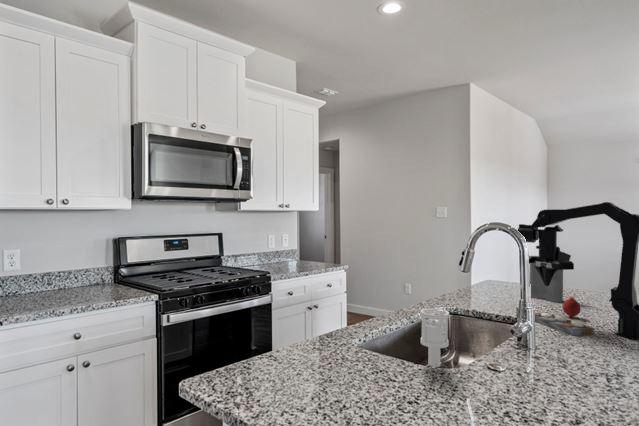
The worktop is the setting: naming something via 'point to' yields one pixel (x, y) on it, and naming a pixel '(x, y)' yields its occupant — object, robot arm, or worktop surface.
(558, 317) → the middle button
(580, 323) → the near button
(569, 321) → the button board
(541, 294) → the flask
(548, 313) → the far button
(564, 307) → the onion
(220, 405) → the worktop surface
